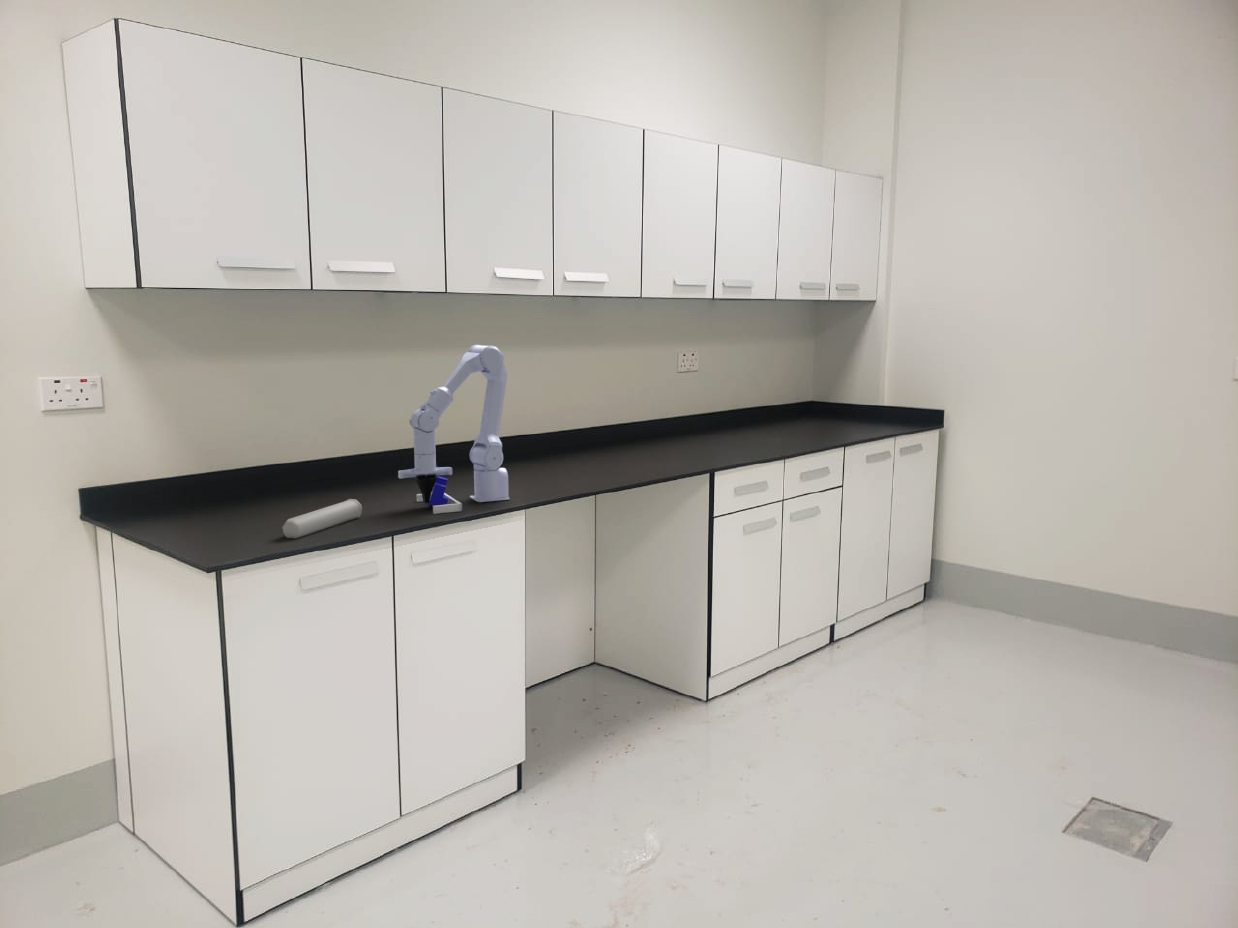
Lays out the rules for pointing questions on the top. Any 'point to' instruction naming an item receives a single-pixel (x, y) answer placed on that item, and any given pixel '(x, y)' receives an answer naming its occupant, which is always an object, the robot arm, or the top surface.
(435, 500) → the cable clip
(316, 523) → the tube
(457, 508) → the bracket
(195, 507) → the top surface
